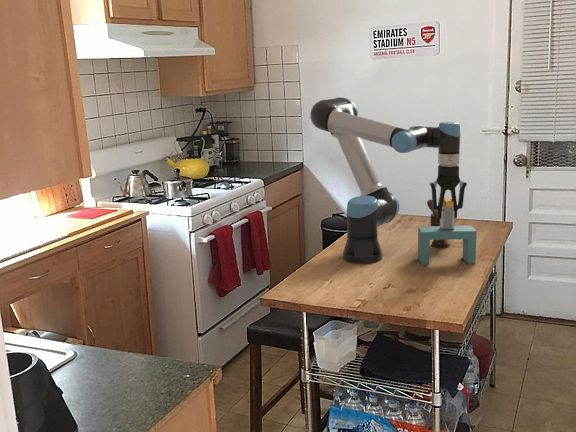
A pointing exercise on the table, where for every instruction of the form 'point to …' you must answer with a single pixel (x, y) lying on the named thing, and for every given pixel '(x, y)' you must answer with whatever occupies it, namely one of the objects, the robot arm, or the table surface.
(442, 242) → the mortar and pestle
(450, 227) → the golden orange block
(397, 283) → the table surface
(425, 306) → the table surface
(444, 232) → the teal slotted arch
